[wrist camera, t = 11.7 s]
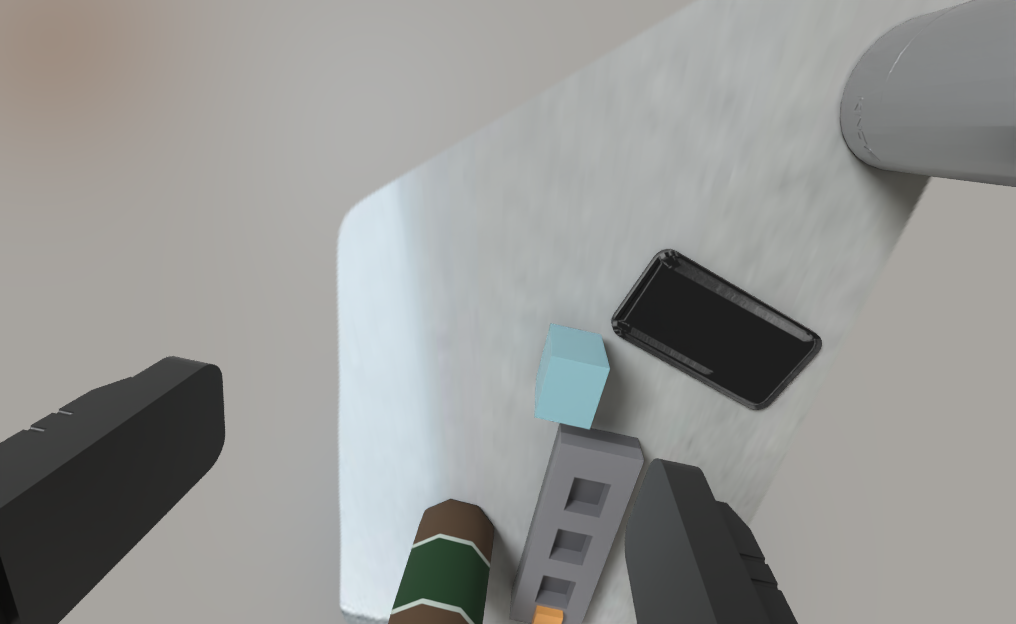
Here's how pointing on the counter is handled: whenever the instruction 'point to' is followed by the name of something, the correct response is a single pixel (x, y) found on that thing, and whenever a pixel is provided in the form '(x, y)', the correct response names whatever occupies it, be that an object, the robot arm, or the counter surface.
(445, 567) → the beer bottle
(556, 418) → the block
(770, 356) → the phone
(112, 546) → the robot arm
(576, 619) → the power strip
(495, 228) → the counter surface
